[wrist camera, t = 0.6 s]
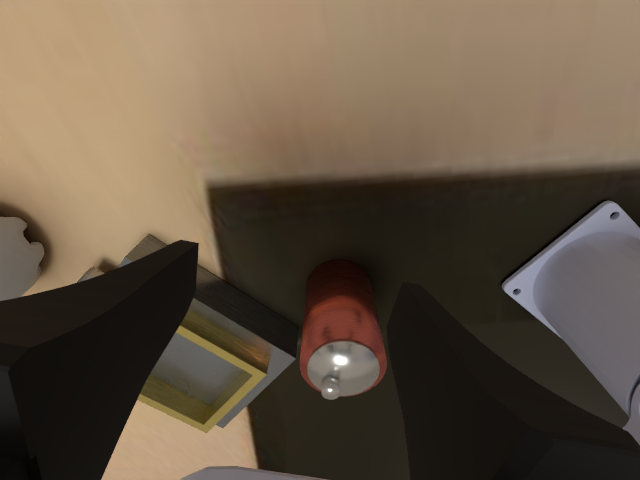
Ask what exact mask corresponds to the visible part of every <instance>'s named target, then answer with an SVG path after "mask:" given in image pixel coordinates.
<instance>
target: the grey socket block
mask: <svg viewBox="0 0 640 480" xmlns="http://www.w3.org/2000/svg"><path fill="white" fill-rule="evenodd" d="M165 246H167V245H166V244H164V243H163V242H161V241H159V240H158V239H156V238H155V237H153V236H151V235H150V234H148V235H147V236H146V237H145V238H144V239H143V240H142V241H141V242H140V243H139V244H138V245H137V246H136V247H135V248H134V249H133V250H132V251H131V252H130V253H129V254H128V255H126V256H125V258H124V259H123V261H122V262H121V264H120V266H119V267H122V266H124V265H126V264H129V263H131V262H134V261H136V260H138V259H140V258H142V257H144V256H147V255H149V254H151V253H153V252H155V251H157V250H159V249H161V248H163V247H165ZM119 267H118V268H119ZM104 273H105V272H103V271H101V270H99V269H98V268H96V267H94V266H93V267H91V268H90V269H89V270H88V271H87V272H86V273H85V274H84V275H83V276H82V277H81V278H80V279H79V281H78V282H81V281H84V280H87V279H91V278H93V277H96V276H99V275H102V274H104ZM78 282H77V283H78ZM298 332H299V328H298V327H297V326H295V325H294V324H292V323H290V322H289V321H287V320H286V319H284V318H282V317H281V316H279V315H278V314H276V313H274V312H273V311H271V310H270V309H268V308H266V307H265V306H263V305H262V304H260V303H258V302H257V301H255V300H254V299H252V298H250V297H249V296H247V295H246V294H244V293H242V292H241V291H239V290H238V289H236V288H234V287H233V286H231V285H230V284H228V283H226V282H225V281H223V280H222V279H220V278H218V277H217V276H215V275H214V274H212V273H210V272H209V271H207V270H206V269H204V268H202V267H201V266H199V265H198V264H197V279H196V293H195V295H194V298H193V300H192V302H191V305H190V307H189V309H188V311H187V314H186V316H185V318H184V319H183V321H182V323H181V324H180V326H179V328H178V329H177V331H176V333H175V334H174V336H173V337H172V339H171V341H170V342H169V344H168V345H167V347H166V349H165V350H164V352H163V354H162V355H161V357H160V358H159V360H158V362H157V363H156V365H155V366H154V368H153V370H152V371H151V373H150V375H149V377H148V379H147V380H146V382H145V384H144V386H143V388H142V390H141V393H140V395H139V397H138V399H137V400H139V401H141V402H143V403H145V404H147V405H150V406H152V407H154V408H156V409H158V410H160V411H162V412H164V413H166V414H168V415H170V416H172V417H174V418H176V419H178V420H181V421H183V422H185V423H187V424H189V425H191V426H193V427H195V428H197V429H199V430H201V431H203V432H205V433H207V432H208V431H209V430H210V429H211V428H212V427H213V426H215V425H217V426H219V427H222V428H224V427H225V426H226V425H227V424H228V423H229V422H230V421H231V420H232V419H233V418H234V417H235V416H236V415H237V414H238V413H239V412H240V411H241V410H243V409H244V408H245V407H246V406H247V405H248V404H249V403H250V402H251V401H252V400H253V399H254V398H255V397H256V396H257V395H258V394H259V393H260V392H261V391H262V390H263V389H264V388H266V387H267V386H268V385H269V384H270V383H271V382H272V381H273V380H274V379H275V378H276V377H277V376H278V375H279V374H280V373H281V372H282V371H283V370H284V369H285V368H286V367H288V366H289V365H290V364H291V363H292V362H293V361H294V360H295V359H296V351H297V342H298Z"/></svg>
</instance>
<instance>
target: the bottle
mask: <svg viewBox="0 0 640 480" xmlns="http://www.w3.org/2000/svg"><path fill="white" fill-rule="evenodd" d="M26 228H27V224H26V223H25V222H24V221H23V220H22V219H20V218H17V217H0V301H3V300H9V299H14V298H19V297H20V296H22V295H23V294H24V293H25V292H26V291H27V290H28V289H30V288H31V287H32V286H33V285H34V283H35V282H36V281H37V279H38V278H39V275H40V273H41V269H40V266H39V263H40V261H41V260H42V258H43V256H44V248H43V245H42V244H41V243H39V242H31V243H29V242H28V241H27V240H26V239H25V237H24V235H23V231H24V230H25V229H26Z"/></svg>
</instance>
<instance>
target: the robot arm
mask: <svg viewBox="0 0 640 480" xmlns="http://www.w3.org/2000/svg"><path fill="white" fill-rule="evenodd" d="M613 212H615V213H614V215H613V216H611V217H610V215H611V214H612V213H613ZM198 245H199V243H195V242H189V241H184V240H179V241H176V242H174V243H172V244H170V245H168V246H165V247H163V248H161V249H159V250H157V251H155V252H153V253H151V254H149V255H147V256H144V257H142V258H140V259H138V260H136V261H134V262H131V263H129V264H126V265H124V266H122V267H119V268H117V269H114V270H112V271H110V272H107V273H104V274H102V275H99V276H96V277H93V278H91V279H87V280H84V281H81V282H78V283H75V284H72V285H68V286H65V287H61V288H57V289H53V290H49V291H45V292H41V293H37V294H33V295H28V296H24V297H19V298H14V299H9V300H3V301H0V480H101V478H102V476H103V474H104V472H105V469H106V467H107V465H108V462H109V460H110V458H111V455H112V453H113V451H114V449H115V446H116V444H117V442H118V440H119V437H120V435H121V433H122V431H123V429H124V426H125V424H126V422H127V420H128V418H129V416H130V413H131V411H132V409H133V407H134V405H135V403H136V401H137V399H138V397H139V395H140V393H141V390H142V388H143V386H144V384H145V382H146V380H147V379H148V377H149V375H150V373H151V371H152V370H153V368H154V366H155V365H156V363H157V362H158V360H159V358H160V357H161V355H162V354H163V352H164V350H165V349H166V347H167V345H168V344H169V342H170V341H171V339H172V337H173V336H174V334H175V333H176V331H177V329H178V328H179V326H180V324H181V323H182V321H183V319H184V318H185V316H186V314H187V311H188V309H189V307H190V305H191V302H192V300H193V298H194V295H195V293H196V279H197V262H198ZM502 288H503V290H504V291H505V292H506V293H507V294H508V295H509V296H511V297H512V298H513V299H514V300H515V301H517V302H518V303H519V304H520V305H522V306H523V307H524V308H525V309H526V310H528V311H529V312H530V313H531V314H532V315H534V316H535V317H536V318H537V319H539V320H540V321H541V322H542V323H543V324H545V325H546V326H547V327H548V328H550V329H551V330H552V331H553V332H554V333H556V334H557V335H558V336H559V337H560V338H562V339H563V340H564V341H565V342H566V343H567V344H568V346H569V347H570V348H571V349H572V350H573V351H574V353H575V354H576V355H577V356H578V357H579V358H580V360H581V361H582V362H583V363H584V364H585V365H586V367H587V368H588V369H589V370H590V371H591V372H592V374H593V375H594V376H595V377H596V378H597V379H598V381H599V382H600V383H601V384H602V385H603V386H604V388H605V389H606V390H607V391H608V392H609V393H610V395H611V396H612V397H613V398H614V399H615V401H616V402H617V403H618V404H619V405H620V406H621V408H622V409H623V410H624V411H625V412H626V413H627V415H628V416H629V417H630V420H629V421H628V423H627V425H625V427H624V428H623V429H622V428H620V427H618V426H616V425H614V424H612V423H610V422H608V421H606V420H604V419H602V418H599V417H598V416H595V415H593V414H591V413H589V412H587V411H585V410H583V409H582V408H579V407H578V406H576V405H574V404H572V403H571V402H569V401H567V400H565V399H564V398H562V397H560V396H558V395H557V394H555V393H553V392H551V391H550V390H548V389H547V388H545V387H543V386H542V385H540V384H538V383H537V382H535V381H534V380H532V379H531V378H529V377H528V376H526V375H524V374H523V373H522V372H520V371H519V370H517V369H516V368H514V367H513V366H511V365H510V364H508V363H507V362H506V361H505V360H503V359H502V358H500V357H499V356H498V355H497V354H495V353H494V352H493V351H491V350H490V349H489V348H488V347H486V346H485V345H484V344H483V343H481V342H480V341H479V340H478V339H477V338H476V337H475V336H473V335H472V334H471V333H470V332H469V331H468V330H467V329H466V328H464V327H463V326H462V325H461V324H460V323H459V322H458V321H457V320H456V319H455V318H454V317H453V316H452V315H451V314H450V313H449V312H448V311H447V310H446V309H445V308H444V307H443V306H442V305H441V304H440V303H439V302H438V301H437V300H436V299H435V298H434V297H433V296H432V295H430V294H429V293H428V292H427V291H426V290H425V289H424V288H423V287H422V286H420V285H417V284H412V283H406V282H403V284H402V286H401V289H400V292H399V295H398V297H397V300H396V303H395V305H394V308H393V311H392V313H391V316H390V319H389V322H388V324H387V339H388V350H389V356H390V361H391V365H392V370H393V374H394V378H395V382H396V387H397V391H398V396H399V400H400V404H401V409H402V413H403V419H404V425H405V434H406V442H407V450H408V460H409V470H410V480H640V228H639V227H638V226H637V225H636V224H635V223H634V221H633V220H632V219H631V218H630V217H629V216H628V215H627V214H626V213H625V212H624V211H623V210H622V209H621V208H620V206H619V205H618V204H616V203H614V202H612V201H605V202H603V203H601V204H600V205H599V206H597V207H596V208H595V209H594V210H592V211H591V212H590V213H589V214H587V215H586V216H585V217H584V218H582V219H581V220H580V221H579V222H577V223H576V224H575V225H574V226H572V227H571V228H570V229H569V230H568V231H566V232H565V233H564V234H563V235H561V236H560V237H559V238H558V239H556V240H555V241H554V242H553V243H551V244H550V245H549V246H548V247H546V248H545V249H544V250H543V251H541V252H540V253H539V254H538V255H536V256H535V257H534V258H533V259H531V260H530V261H529V262H528V263H526V264H525V265H524V266H523V267H521V268H520V269H519V270H518V271H516V272H515V273H514V274H513V275H512V276H510V277H509V278H508V279H507V280H505V281H504V282H503V284H502ZM515 289H517V291H515V292H513V291H514V290H515ZM181 480H327V479H320V478H313V477H307V476H300V475H292V474H286V473H279V472H272V471H265V470H259V469H252V468H245V467H238V466H217V467H207V468H204V469H202V470H199V471H197V472H195V473H192V474H190V475H188V476H186V477H184V478H182V479H181Z"/></svg>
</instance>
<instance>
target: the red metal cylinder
mask: <svg viewBox="0 0 640 480" xmlns="http://www.w3.org/2000/svg"><path fill="white" fill-rule="evenodd" d="M386 367H387V361H386V355H385V350H384V346H383V340H382V335H381V330H380V325H379V321H378V316H377V311H376V306H375V301H374V296H373V291H372V286H371V281H370V278H369V276H368V274H367V273H366V271H365V270H364V269H363V268H362V267H361V266H359V265H358V264H356V263H354V262H351V261H347V260H331V261H328V262H325V263H323V264H321V265H319V266H318V267H316V268H315V269H314V270H313V271H312V273H311V274H310V276H309V278H308V281H307V288H306V299H305V310H304V321H303V333H302V344H301V356H300V371H301V374H302V376H303V378H304V379H305V381H306V382H307V383H308V384H309V385H310V386H312V387H313V388H314V389H316V390H318V391H320V392H322V396H323V397H324V398H326V399H330V400H331V399H336V398H337V397H338V396H353V395H357V394H361V393H363V392H366V391H368V390H370V389H371V388H373V387H374V386H376V385H377V384H378V383H379V382H380V380H381V379H382V377H383V376H384V374H385V372H386Z"/></svg>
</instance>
